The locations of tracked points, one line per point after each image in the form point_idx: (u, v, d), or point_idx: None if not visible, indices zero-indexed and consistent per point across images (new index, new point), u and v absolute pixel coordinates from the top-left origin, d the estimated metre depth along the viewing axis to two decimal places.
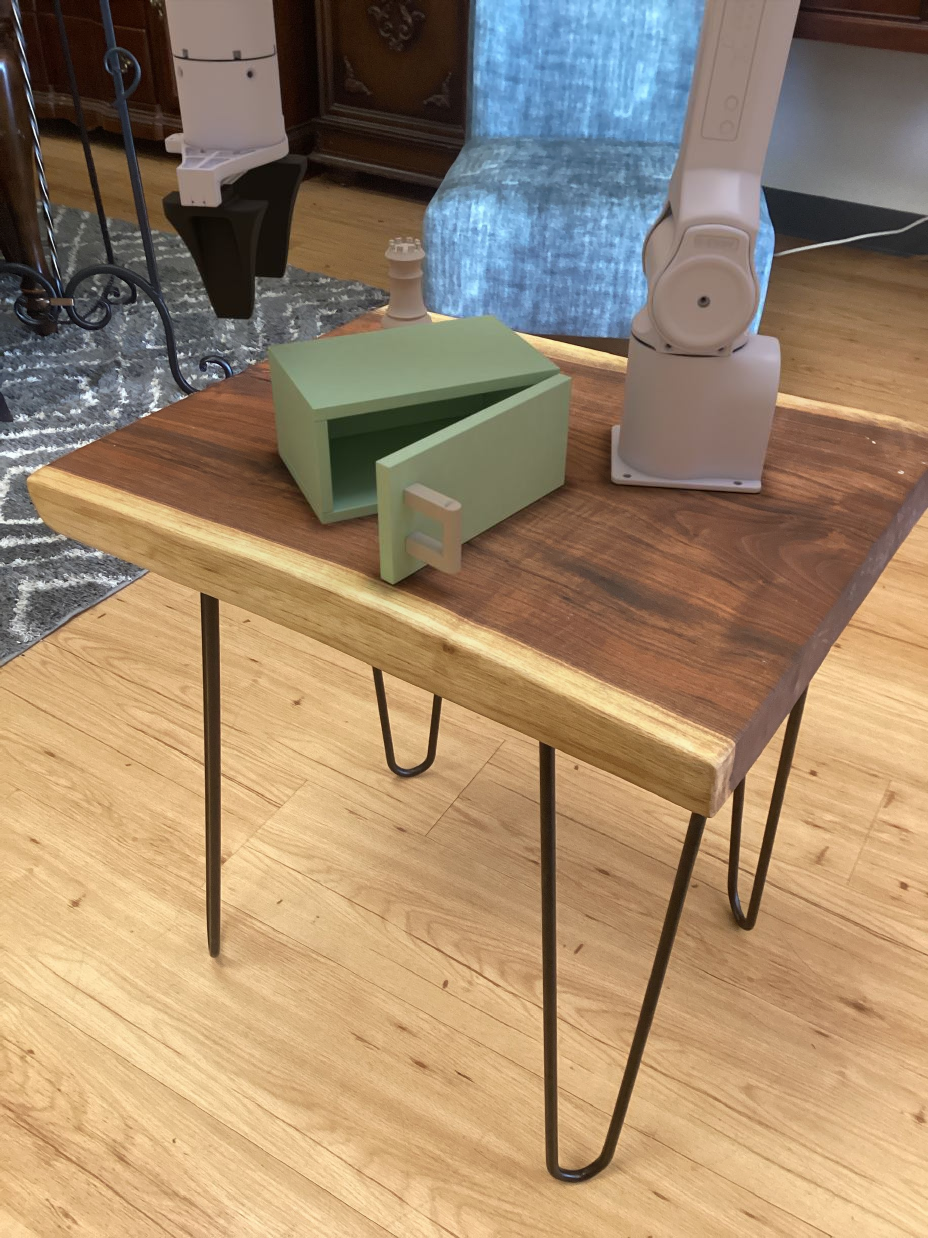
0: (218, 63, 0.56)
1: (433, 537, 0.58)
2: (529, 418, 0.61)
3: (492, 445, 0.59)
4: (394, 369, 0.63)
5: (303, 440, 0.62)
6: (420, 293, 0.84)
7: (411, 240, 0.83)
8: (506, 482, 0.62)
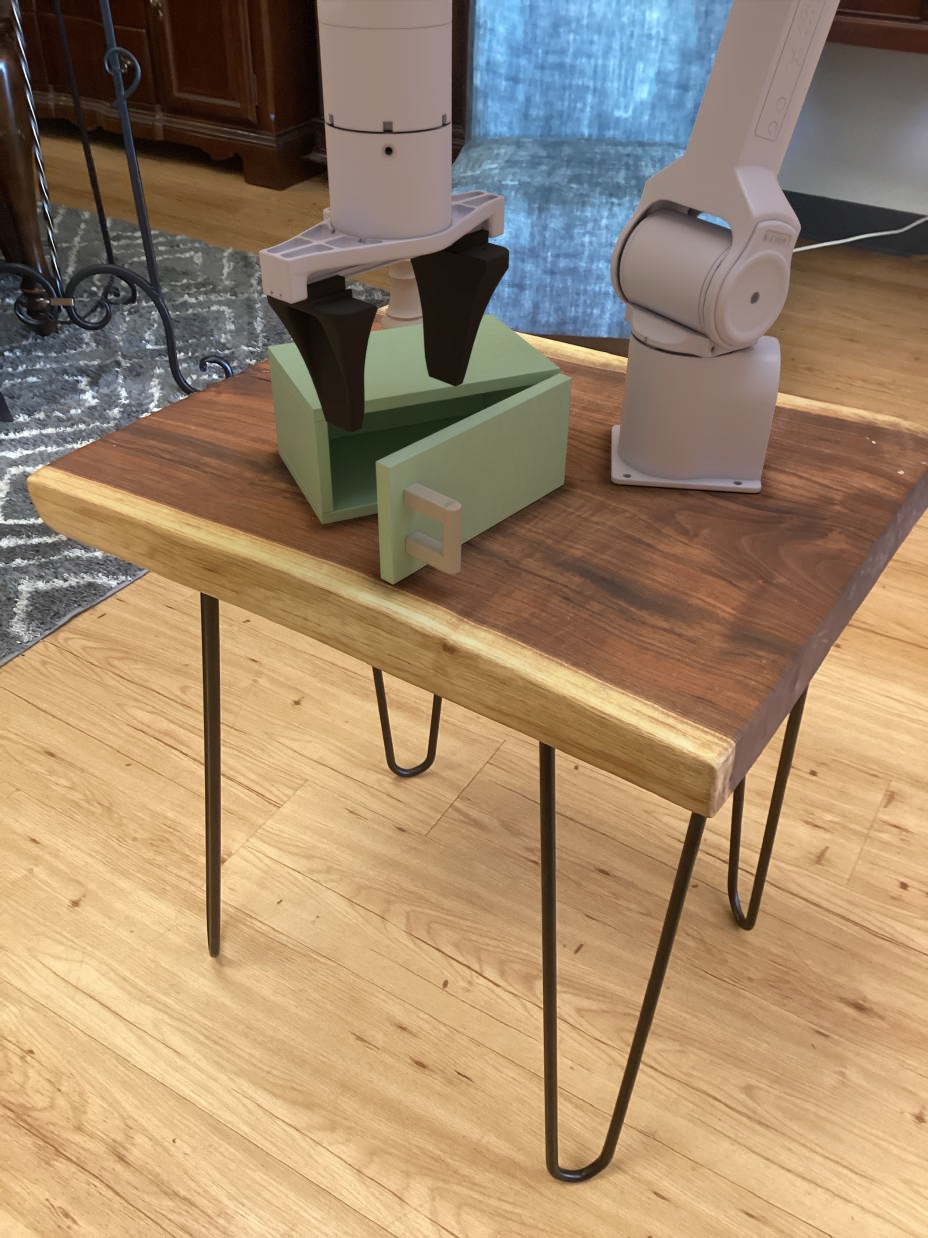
0: (350, 133, 0.45)
1: (433, 537, 0.58)
2: (529, 418, 0.61)
3: (492, 445, 0.59)
4: (394, 369, 0.63)
5: (303, 440, 0.62)
6: None
7: None
8: (506, 482, 0.62)
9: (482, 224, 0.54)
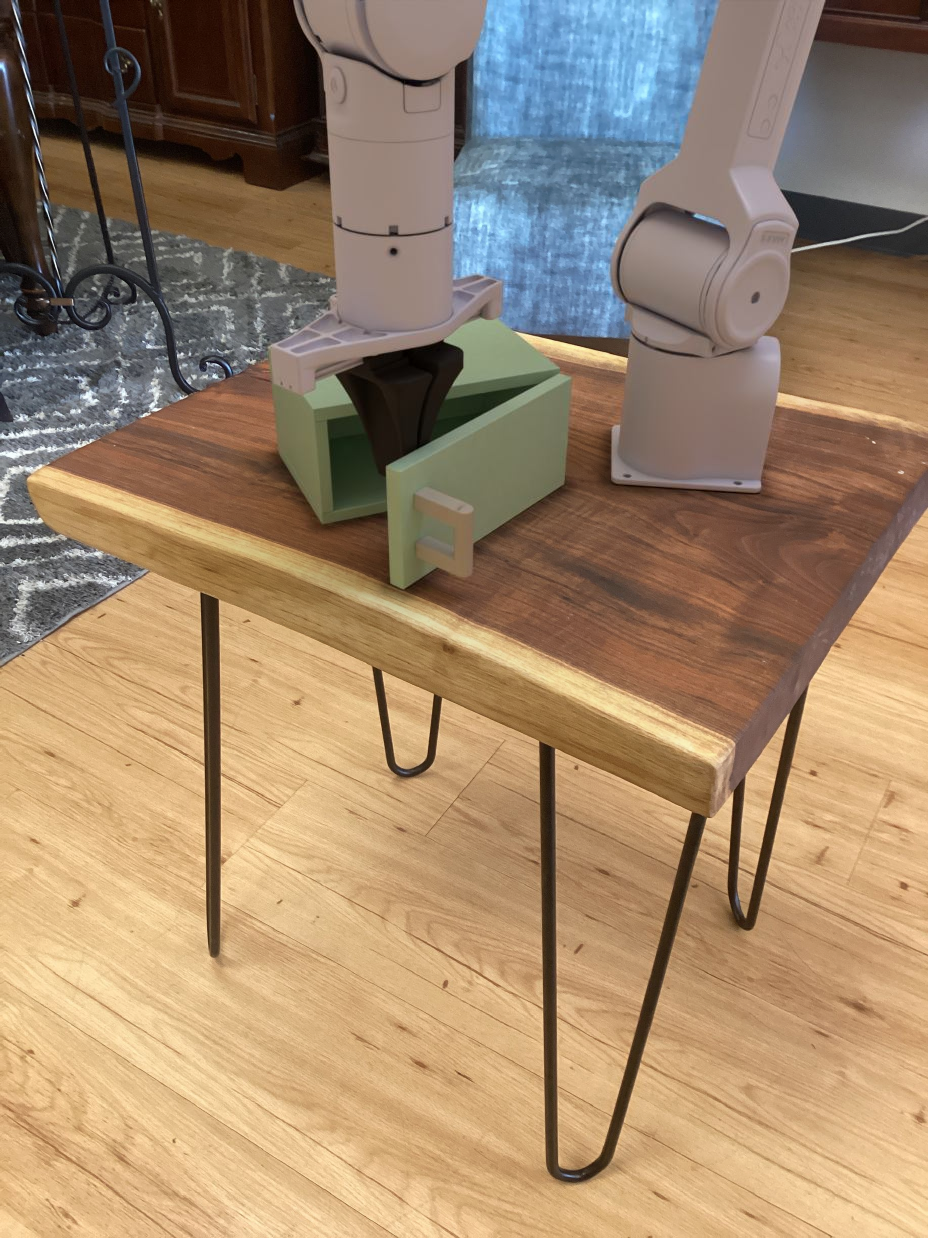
0: (357, 235, 0.47)
1: (441, 541, 0.58)
2: (532, 419, 0.61)
3: (497, 447, 0.59)
4: None
5: (303, 440, 0.62)
6: None
7: None
8: (510, 483, 0.62)
9: (481, 307, 0.56)
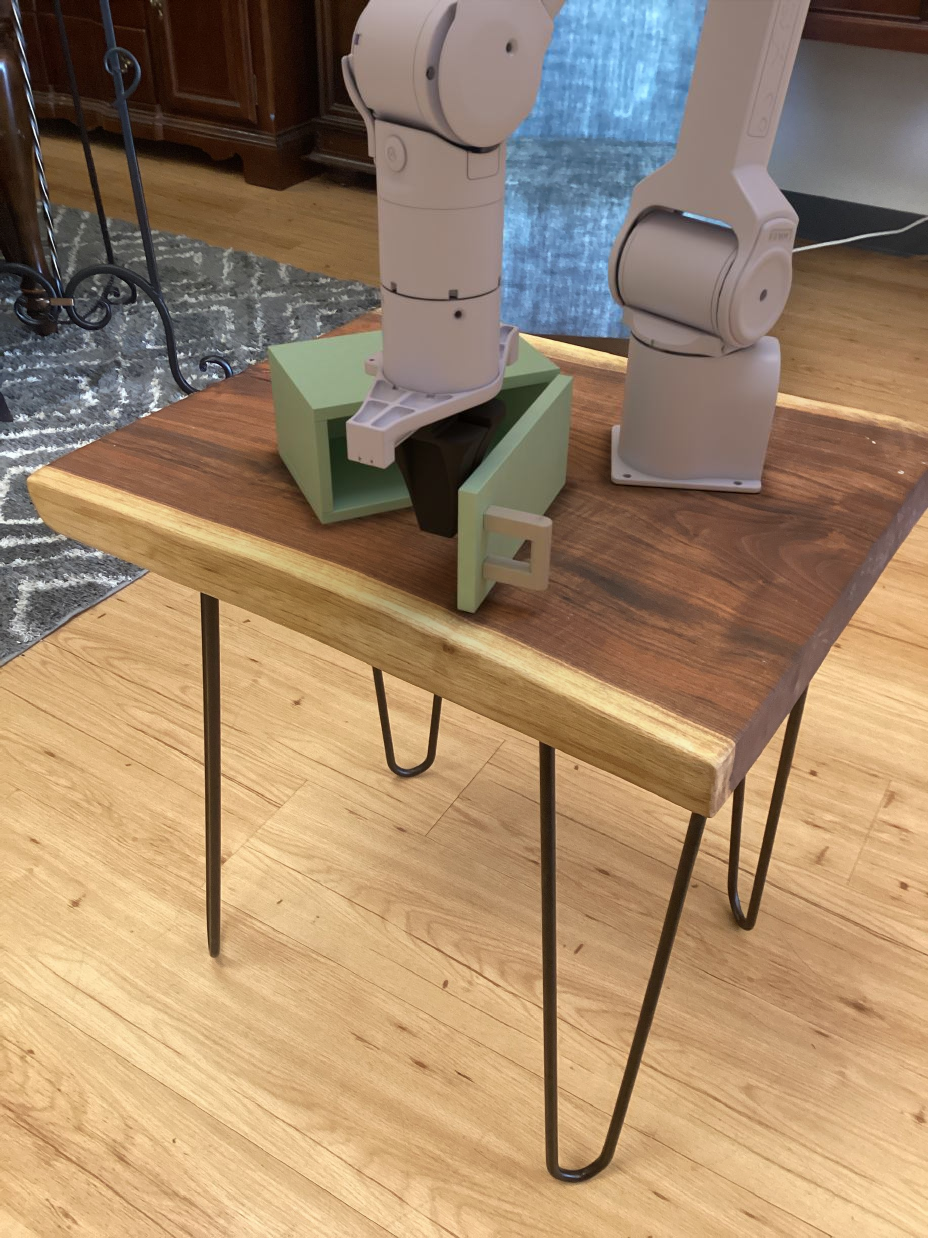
0: (421, 301, 0.47)
1: None
2: (551, 423, 0.60)
3: (531, 455, 0.58)
4: None
5: (303, 440, 0.62)
6: None
7: None
8: (536, 490, 0.61)
9: None
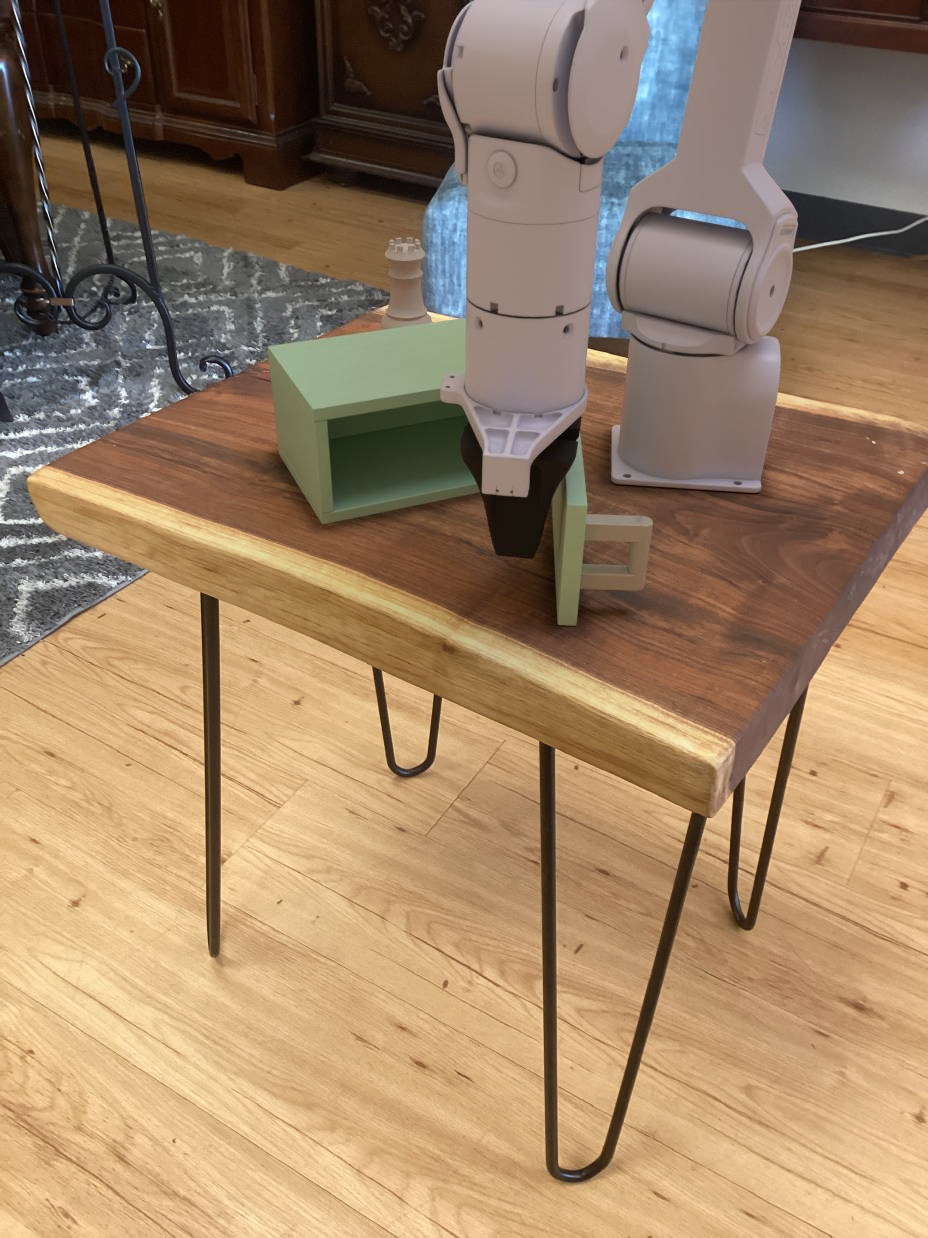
0: (533, 320, 0.45)
1: None
2: None
3: None
4: (394, 369, 0.63)
5: (303, 440, 0.62)
6: (420, 293, 0.84)
7: (411, 240, 0.83)
8: None
9: None
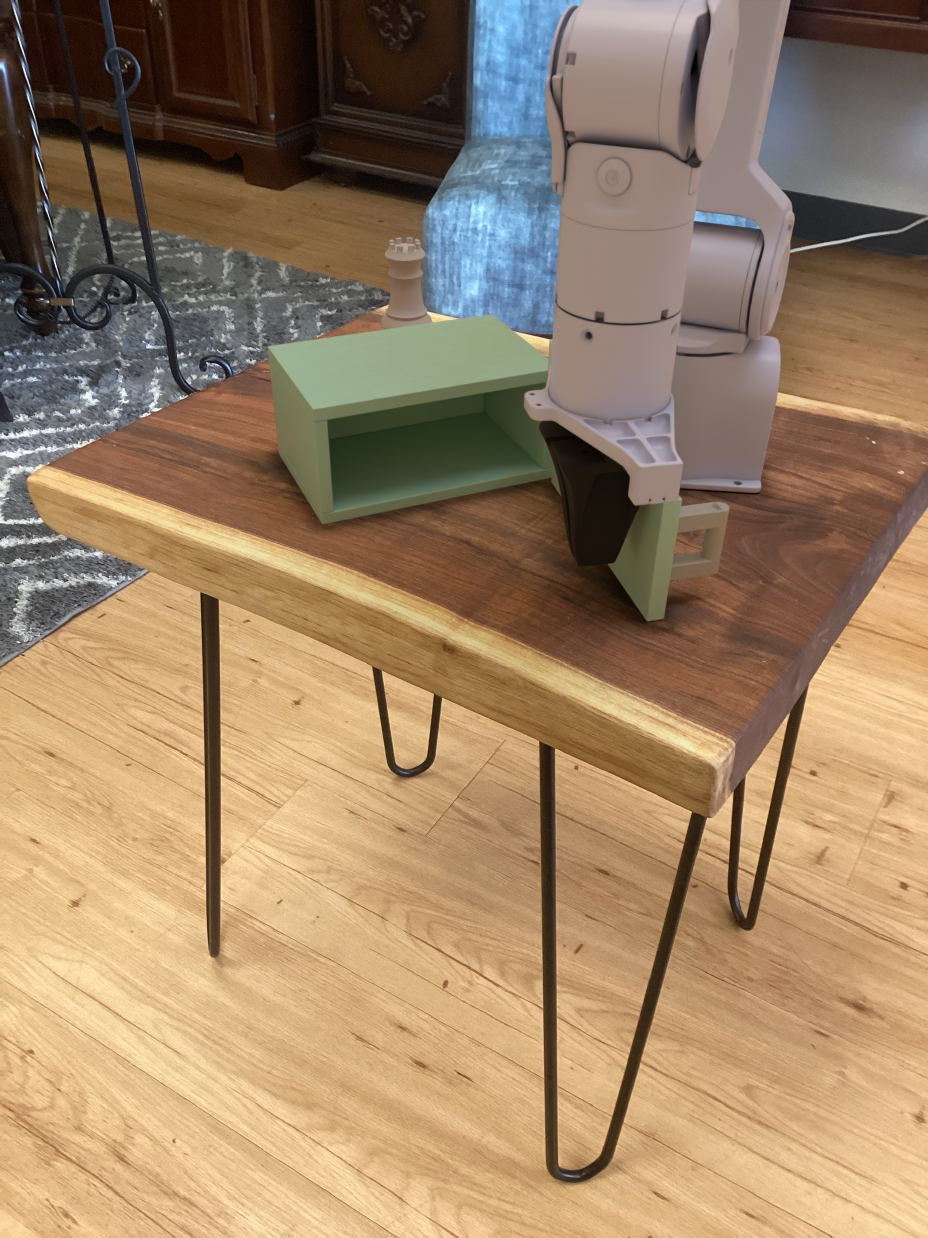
0: (649, 326, 0.45)
1: None
2: None
3: None
4: (394, 369, 0.63)
5: (303, 440, 0.62)
6: (420, 293, 0.84)
7: (411, 240, 0.83)
8: None
9: None
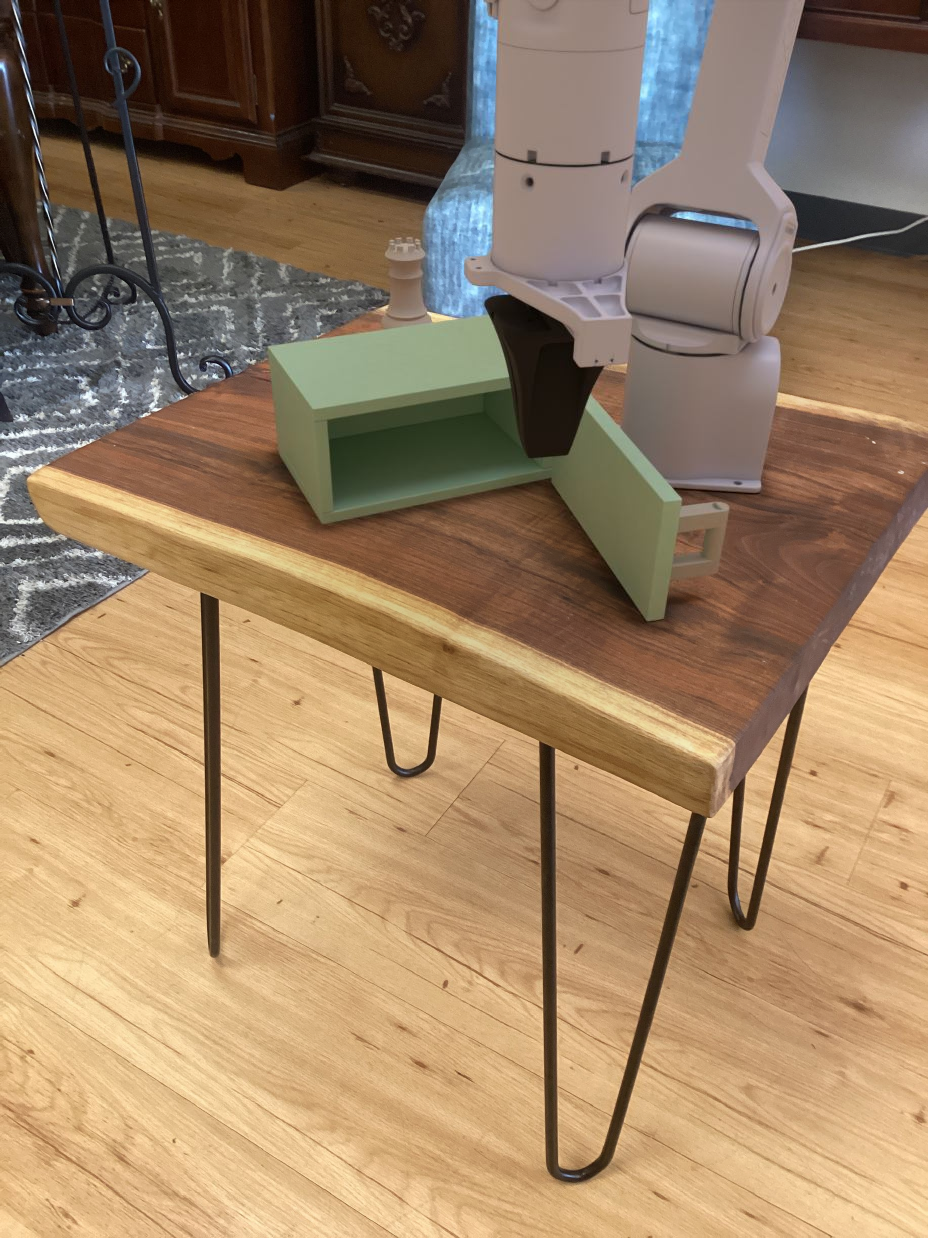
0: (595, 168, 0.40)
1: None
2: None
3: None
4: (394, 369, 0.63)
5: (303, 440, 0.62)
6: (420, 293, 0.84)
7: (411, 240, 0.83)
8: None
9: None
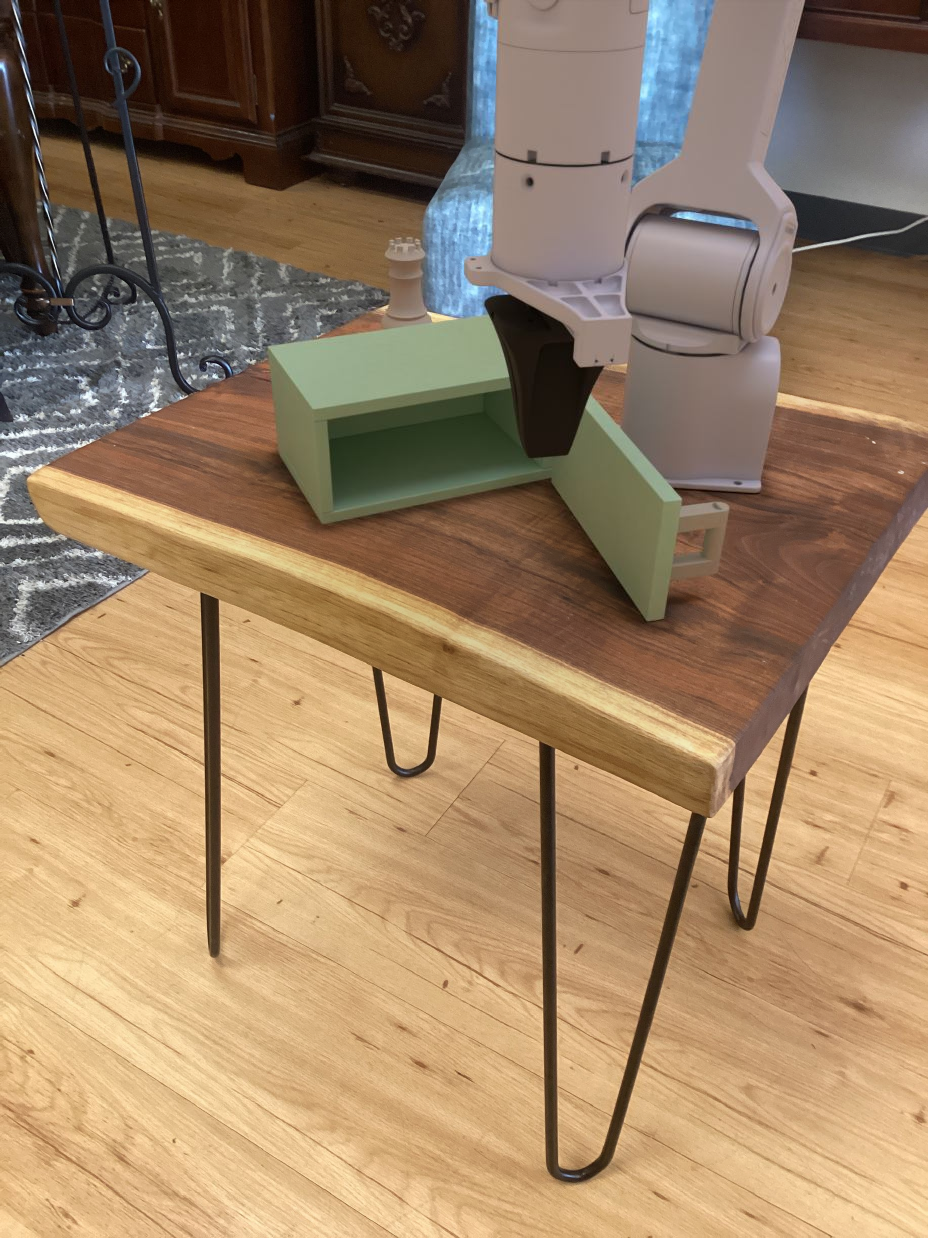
0: (595, 168, 0.40)
1: None
2: None
3: None
4: (394, 369, 0.63)
5: (303, 440, 0.62)
6: (420, 293, 0.84)
7: (411, 240, 0.83)
8: None
9: None
